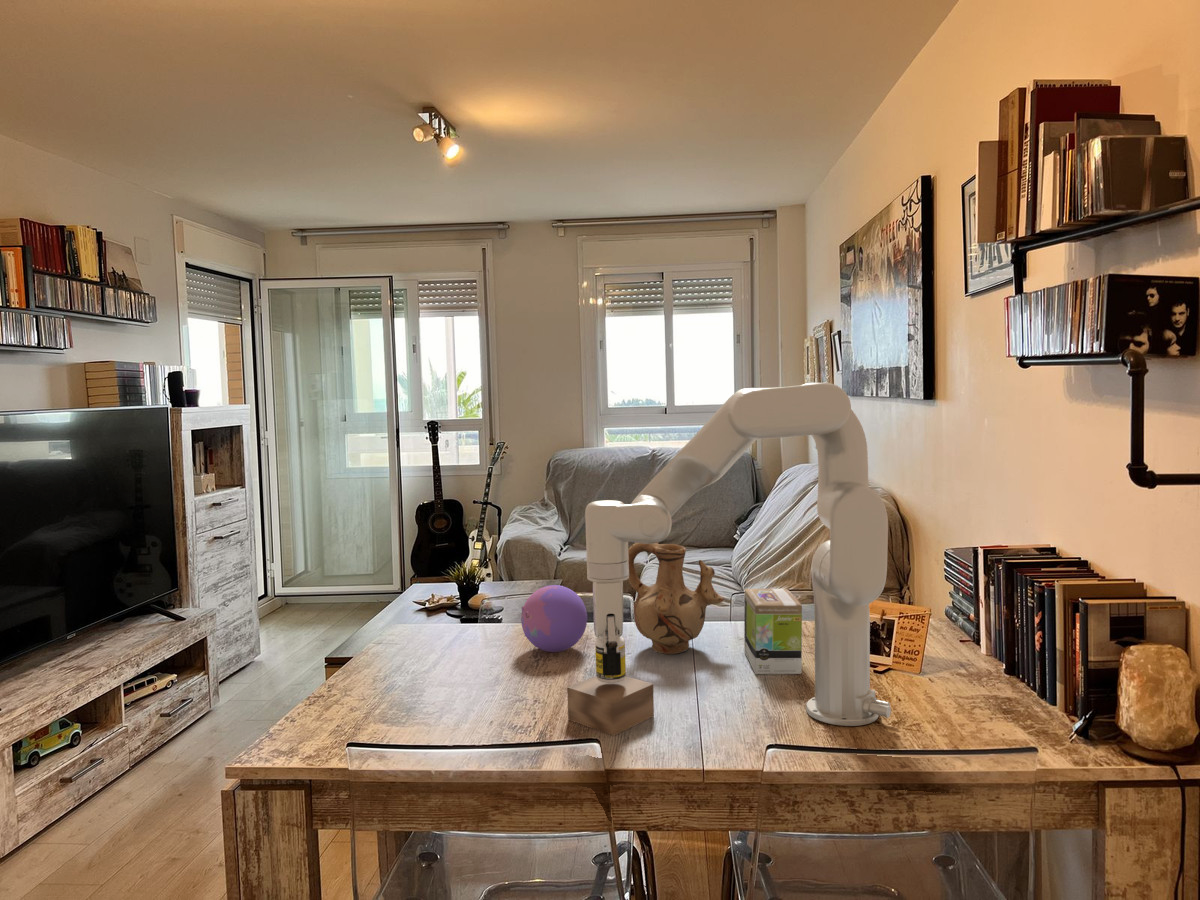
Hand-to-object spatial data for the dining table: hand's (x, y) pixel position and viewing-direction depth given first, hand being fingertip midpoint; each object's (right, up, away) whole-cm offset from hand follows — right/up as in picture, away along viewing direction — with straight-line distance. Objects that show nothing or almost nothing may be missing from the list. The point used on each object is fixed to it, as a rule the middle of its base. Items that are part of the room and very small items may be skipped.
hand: (611, 667), depth 150 cm
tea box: (+35, -7, +28) cm, 45 cm away
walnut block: (0, -9, +1) cm, 9 cm away
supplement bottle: (0, -2, 0) cm, 2 cm away
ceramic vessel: (+15, -6, +39) cm, 42 cm away
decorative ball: (-12, -7, +40) cm, 43 cm away
